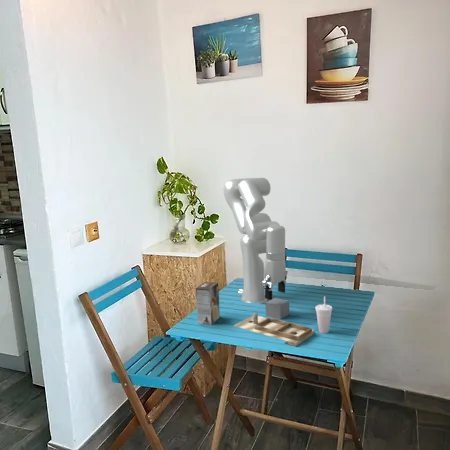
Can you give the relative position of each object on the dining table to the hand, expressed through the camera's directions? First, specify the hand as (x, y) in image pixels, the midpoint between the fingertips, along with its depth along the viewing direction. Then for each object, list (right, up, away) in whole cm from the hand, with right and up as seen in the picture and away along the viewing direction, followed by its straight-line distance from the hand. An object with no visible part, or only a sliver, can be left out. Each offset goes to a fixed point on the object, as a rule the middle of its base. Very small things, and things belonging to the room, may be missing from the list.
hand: (275, 295), depth 182 cm
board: (-2, -12, -12) cm, 17 cm away
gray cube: (+1, -9, +1) cm, 9 cm away
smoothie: (+17, -12, -15) cm, 25 cm away
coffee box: (-27, -11, -2) cm, 30 cm away
